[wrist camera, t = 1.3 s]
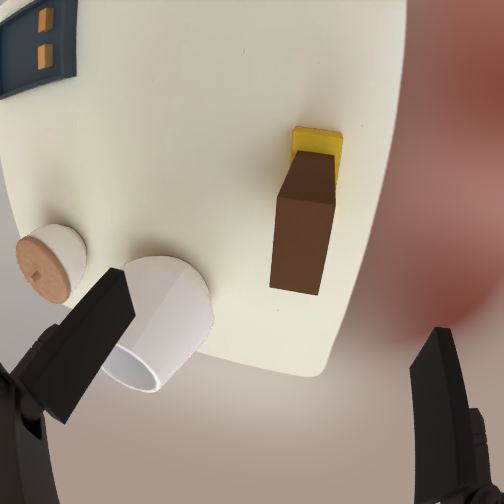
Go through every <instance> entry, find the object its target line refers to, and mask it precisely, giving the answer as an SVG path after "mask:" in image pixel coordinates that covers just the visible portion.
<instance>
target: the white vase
mask: <svg viewBox="0 0 504 504" xmlns="http://www.w3.org/2000/svg"><path fill="white" fill-rule="evenodd" d="M121 270H123V271H124V272H125V276H126V280H127V284H128V288H129V292H130V296H131V299H132V303H133V307H134V310H135V314H136V316H135V318H134V319H133V321H132V322H131V324H130V325H129V326H128V328H127V329H126V331H125V332H124V334H123V335H122V337H121V338H120V340H119V341H118V342H117V344H116V345H115V347H114V348H113V350H112V351H111V353H110V354H109V356H108V357H107V359H106V360H105V362H104V363H103V365H102V366H101V368H102V369H103V370H104V371H105V372H106V373H107V374H109V375H110V376H111V377H112V378H114V379H115V380H117V381H118V382H120V383H122V384H124V385H125V386H127V387H129V388H132V389H135V390H138V391H141V392H155V391H157V390H159V389H160V388H161V387H162V386H163V385H164V384H165V383H166V382H167V381H168V380H169V379H170V377H171V376H172V375H173V374H174V373H175V372H176V371H177V370H178V369H179V368H180V367H181V366H182V365H183V364H184V363H185V362H186V360H187V359H188V358H189V357H190V356H191V355H192V354H193V353H194V352H195V351H196V350H197V349H198V348H199V346H200V345H201V344H202V343H203V342H204V341H205V340H206V338H207V337H208V335H209V333H210V331H211V329H212V326H213V324H214V314H213V307H212V302H211V298H210V295H209V291H208V288H207V285H206V283H205V281H204V280H203V278H202V276H201V275H200V273H199V272H198V271H196V270H195V269H194V268H193V267H192V266H191V265H190V264H189V263H186V262H184V261H182V260H180V259H178V258H176V257H170V256H152V257H143V258H140V259H136V260H133V261H130V262H128V263H126V264H125V265H124V266H123V267H122V269H121Z"/></svg>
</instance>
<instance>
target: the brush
mask: <svg viewBox="0 0 504 504" xmlns="http://www.w3.org/2000/svg"><path fill="white" fill-rule="evenodd" d="M342 143H343V137H342V133H339V132H333V131H326V130H319V129H312V128H304V127H296V128H295V129H294V131H293V137H292V149H291V161H290V169H289V171H288V173H287V176H286V178H285V180H284V182H283V185H282V187H281V189H280V192H279V194H278V196H277V205H276V217H275V229H274V241H273V253H272V264H271V275H270V286H269V287H271V288H276V289H282V290H288V291H293V292H299V293H305V294H311V295H318V292H319V287H320V283H321V278H322V274H323V269H324V264H325V259H326V255H327V250H328V245H329V239H330V234H331V229H332V223H333V218H334V212H335V207H336V193H335V191H336V185H337V178H338V172H339V165H340V158H341V150H342Z"/></svg>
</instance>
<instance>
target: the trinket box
mask: <svg viewBox="0 0 504 504" xmlns="http://www.w3.org/2000/svg"><path fill="white" fill-rule="evenodd" d="M86 254H87V251H86V246H85V244H84V241H83V240H82V238H81V237H80V235H79V234H78V233H77V232H76V231H75V230H74V229H72V228H71V227H68V226H62V225H58V224H49V225H45V226H42V227H40V228H38V229H36V230H34V231H33V232H31V233H30V234H29V235H27V236H25V237H23V238H22V239H21V240H20V241H19V242H18V243H17V246H16V256H17V260H18V264H19V266H20V268H21V271H22V273H23V274H24V276H25V278H26V279H27V281H28V282H29V283H30V285H31V286H32V287H33V288H34V289H35V290H36V291H37V292H38V293H39V294H40V295H41V296H42V297H43V298H45V299H46V300H48V301H50V302H52V303H55V304H62V303H64V302H65V301H66V300H67V299H68V298H69V296H70V294H71V293H72V292H73V291H74V290H75V289H76V287H77V286H78V285H79V283H80V281H81V280H82V278H83V275H84V273H85V268H86Z"/></svg>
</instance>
